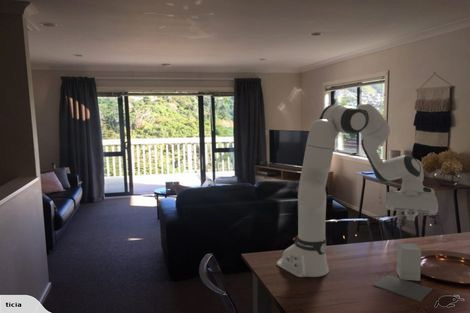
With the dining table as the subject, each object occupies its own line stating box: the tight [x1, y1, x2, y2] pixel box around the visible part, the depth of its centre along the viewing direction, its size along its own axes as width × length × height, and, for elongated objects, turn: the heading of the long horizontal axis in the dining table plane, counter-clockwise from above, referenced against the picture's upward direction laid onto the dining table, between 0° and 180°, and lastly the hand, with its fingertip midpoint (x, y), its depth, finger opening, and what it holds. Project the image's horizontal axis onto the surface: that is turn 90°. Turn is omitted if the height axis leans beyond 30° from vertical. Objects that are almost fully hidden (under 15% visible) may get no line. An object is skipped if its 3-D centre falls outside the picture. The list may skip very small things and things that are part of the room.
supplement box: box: [396, 242, 422, 282], centre depth 144 cm, size 7×7×13 cm
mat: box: [373, 274, 434, 303], centre depth 136 cm, size 17×12×1 cm
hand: (410, 219), depth 153 cm, fingers closed
